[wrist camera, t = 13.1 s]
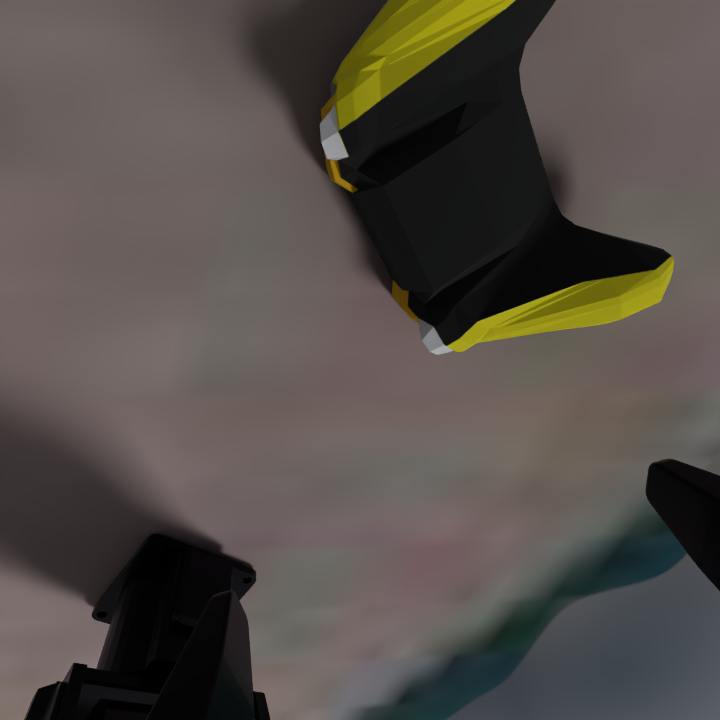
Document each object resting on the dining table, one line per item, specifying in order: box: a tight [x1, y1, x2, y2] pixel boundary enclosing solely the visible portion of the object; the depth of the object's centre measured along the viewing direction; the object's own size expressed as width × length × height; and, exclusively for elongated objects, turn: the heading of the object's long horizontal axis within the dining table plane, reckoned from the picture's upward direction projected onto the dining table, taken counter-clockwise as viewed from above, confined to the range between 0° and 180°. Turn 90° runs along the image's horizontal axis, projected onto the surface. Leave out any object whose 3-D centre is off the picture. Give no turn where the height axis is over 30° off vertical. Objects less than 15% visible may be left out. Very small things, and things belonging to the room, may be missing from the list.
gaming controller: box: [320, 0, 674, 355], centre depth 17 cm, size 15×6×10 cm
